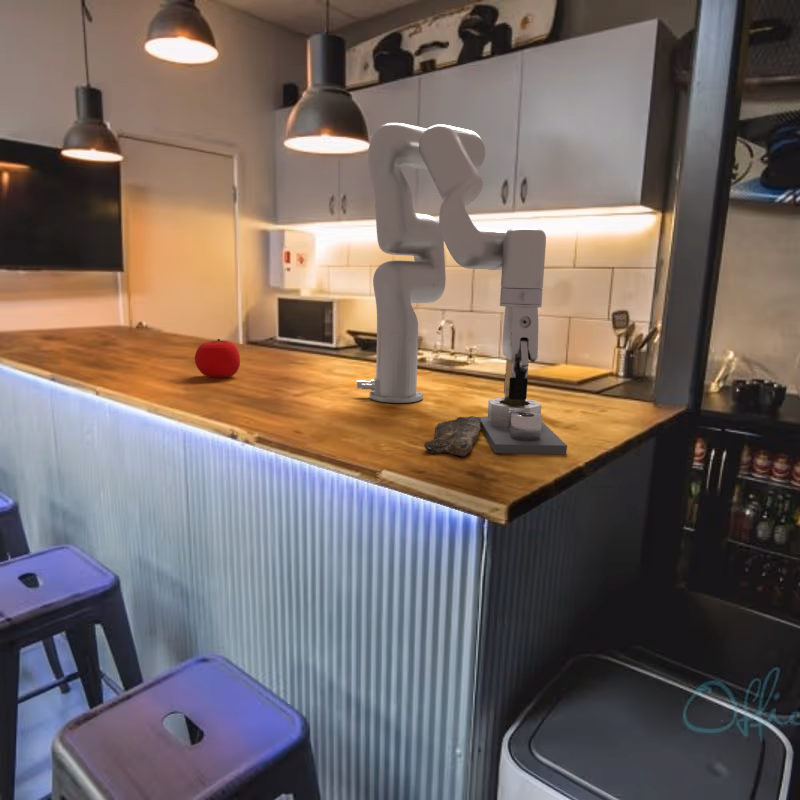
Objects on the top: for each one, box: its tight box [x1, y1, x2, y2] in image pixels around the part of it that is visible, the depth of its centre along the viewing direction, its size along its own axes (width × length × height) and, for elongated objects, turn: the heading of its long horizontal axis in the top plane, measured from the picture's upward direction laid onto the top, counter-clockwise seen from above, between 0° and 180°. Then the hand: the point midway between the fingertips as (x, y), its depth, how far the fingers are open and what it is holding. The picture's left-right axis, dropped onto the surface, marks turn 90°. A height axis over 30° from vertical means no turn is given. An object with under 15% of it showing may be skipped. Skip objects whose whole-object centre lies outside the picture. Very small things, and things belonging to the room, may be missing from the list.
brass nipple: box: [503, 354, 529, 406], centre depth 116 cm, size 4×4×10 cm
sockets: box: [487, 397, 543, 441], centre depth 113 cm, size 9×18×4 cm, turn 1°
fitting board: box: [478, 416, 568, 455], centre depth 113 cm, size 12×20×2 cm, turn 1°
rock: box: [424, 415, 481, 458], centre depth 110 cm, size 21×8×3 cm, turn 168°
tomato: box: [194, 338, 241, 379], centre depth 167 cm, size 12×12×10 cm
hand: (514, 395), depth 116 cm, fingers closed on brass nipple, 4 cm apart
